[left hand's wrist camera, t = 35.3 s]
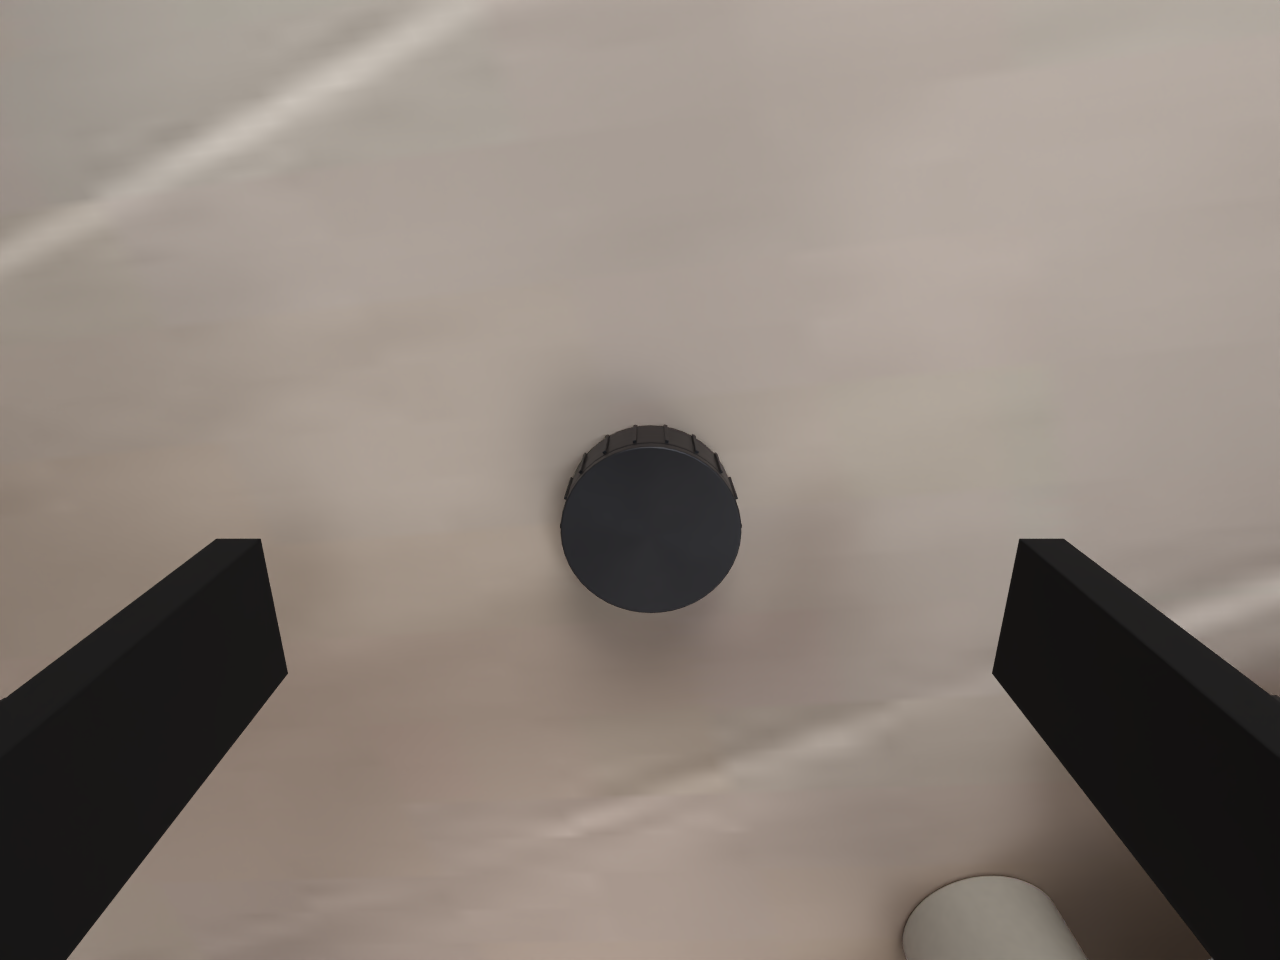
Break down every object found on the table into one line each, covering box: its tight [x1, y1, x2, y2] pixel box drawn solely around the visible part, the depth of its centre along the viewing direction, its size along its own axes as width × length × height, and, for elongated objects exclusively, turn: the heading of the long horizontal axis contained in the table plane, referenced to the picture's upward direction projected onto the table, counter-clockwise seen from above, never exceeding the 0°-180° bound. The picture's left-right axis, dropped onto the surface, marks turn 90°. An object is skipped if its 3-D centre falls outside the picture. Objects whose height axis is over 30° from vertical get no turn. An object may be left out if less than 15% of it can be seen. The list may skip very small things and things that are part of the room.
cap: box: [560, 425, 742, 613], centre depth 18 cm, size 4×4×2 cm
